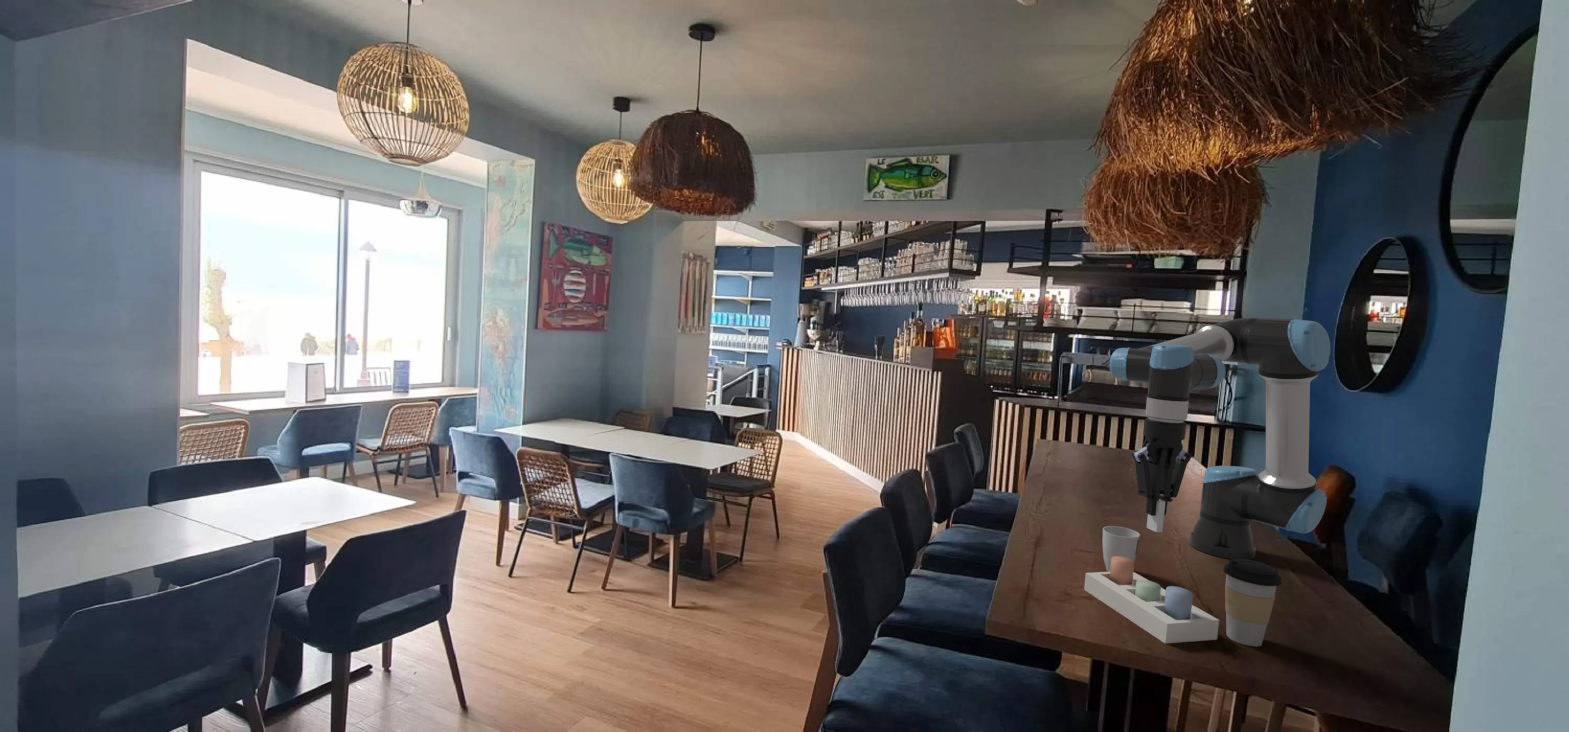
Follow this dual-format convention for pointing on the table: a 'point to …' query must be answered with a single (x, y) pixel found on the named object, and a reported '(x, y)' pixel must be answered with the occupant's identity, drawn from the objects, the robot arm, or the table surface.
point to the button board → (1151, 611)
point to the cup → (1119, 543)
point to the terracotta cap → (1121, 570)
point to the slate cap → (1178, 603)
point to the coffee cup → (1249, 599)
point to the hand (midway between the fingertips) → (1154, 529)
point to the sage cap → (1148, 590)
